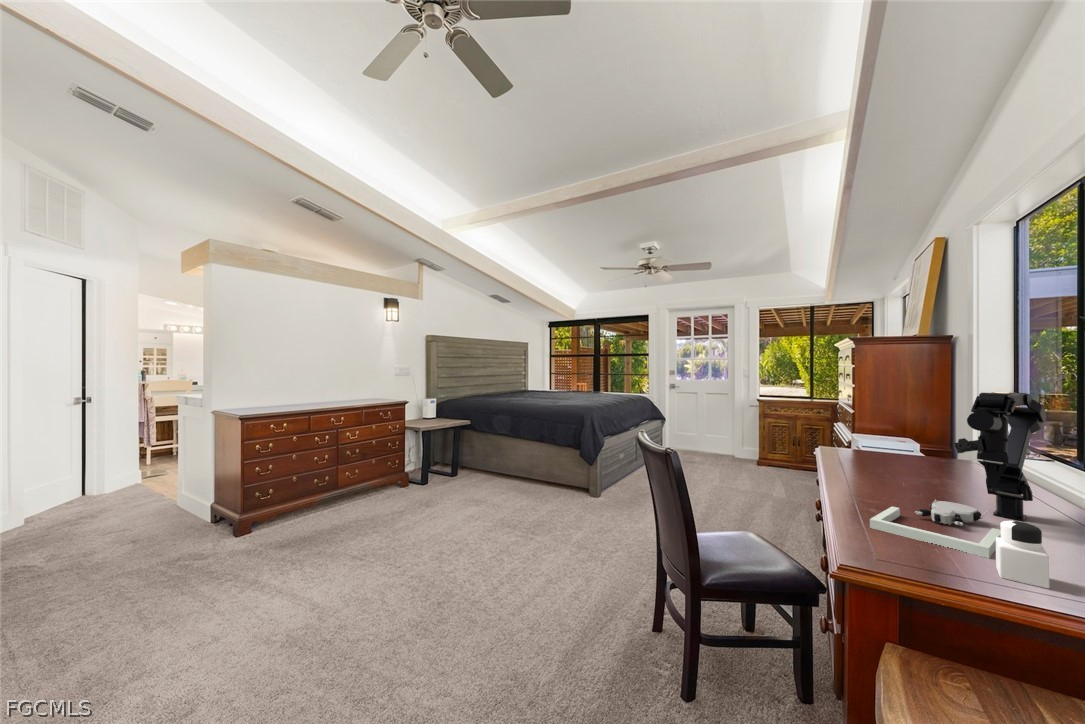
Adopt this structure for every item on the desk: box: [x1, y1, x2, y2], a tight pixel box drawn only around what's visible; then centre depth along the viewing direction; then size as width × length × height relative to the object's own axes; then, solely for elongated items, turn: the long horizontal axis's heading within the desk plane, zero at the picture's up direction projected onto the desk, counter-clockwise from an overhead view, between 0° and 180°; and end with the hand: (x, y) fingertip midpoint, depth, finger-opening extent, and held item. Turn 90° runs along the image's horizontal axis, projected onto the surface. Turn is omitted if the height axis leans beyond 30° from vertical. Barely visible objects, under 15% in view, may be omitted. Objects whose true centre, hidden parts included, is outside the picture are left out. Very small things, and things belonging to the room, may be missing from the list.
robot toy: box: [914, 499, 988, 527], centre depth 127 cm, size 12×4×15 cm
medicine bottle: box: [995, 520, 1050, 590], centre depth 93 cm, size 7×7×12 cm
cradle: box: [869, 506, 1001, 559], centre depth 117 cm, size 20×24×2 cm
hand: (991, 485), depth 125 cm, fingers open, 9 cm apart
